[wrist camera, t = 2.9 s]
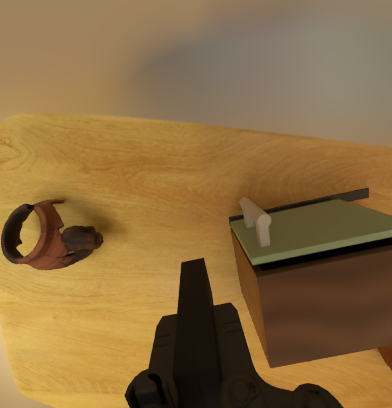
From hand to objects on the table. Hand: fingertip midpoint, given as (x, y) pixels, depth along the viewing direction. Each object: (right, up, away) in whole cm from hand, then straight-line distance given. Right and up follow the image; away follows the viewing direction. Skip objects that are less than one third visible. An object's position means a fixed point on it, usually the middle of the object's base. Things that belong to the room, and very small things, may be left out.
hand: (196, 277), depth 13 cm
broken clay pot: (-18, +1, +16) cm, 24 cm away
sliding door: (+12, +5, +15) cm, 20 cm away
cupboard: (+17, -1, +18) cm, 24 cm away
